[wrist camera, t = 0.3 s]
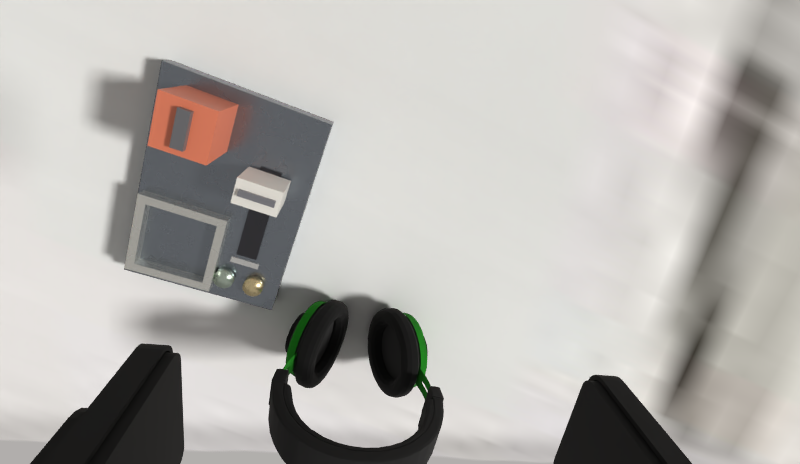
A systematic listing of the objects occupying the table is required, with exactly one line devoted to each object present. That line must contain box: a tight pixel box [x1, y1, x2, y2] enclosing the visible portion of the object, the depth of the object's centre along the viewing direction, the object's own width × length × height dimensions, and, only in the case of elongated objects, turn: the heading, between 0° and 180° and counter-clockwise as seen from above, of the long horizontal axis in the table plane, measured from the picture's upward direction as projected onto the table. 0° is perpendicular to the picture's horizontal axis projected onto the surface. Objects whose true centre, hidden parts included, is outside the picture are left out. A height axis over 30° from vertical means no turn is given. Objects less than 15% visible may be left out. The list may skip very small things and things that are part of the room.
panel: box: [124, 60, 333, 310], centre depth 41 cm, size 21×15×3 cm
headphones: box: [268, 300, 444, 464], centre depth 40 cm, size 9×16×20 cm, turn 78°
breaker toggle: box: [231, 167, 291, 217], centre depth 38 cm, size 2×4×4 cm, turn 68°
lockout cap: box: [148, 85, 238, 165], centre depth 35 cm, size 4×4×6 cm
